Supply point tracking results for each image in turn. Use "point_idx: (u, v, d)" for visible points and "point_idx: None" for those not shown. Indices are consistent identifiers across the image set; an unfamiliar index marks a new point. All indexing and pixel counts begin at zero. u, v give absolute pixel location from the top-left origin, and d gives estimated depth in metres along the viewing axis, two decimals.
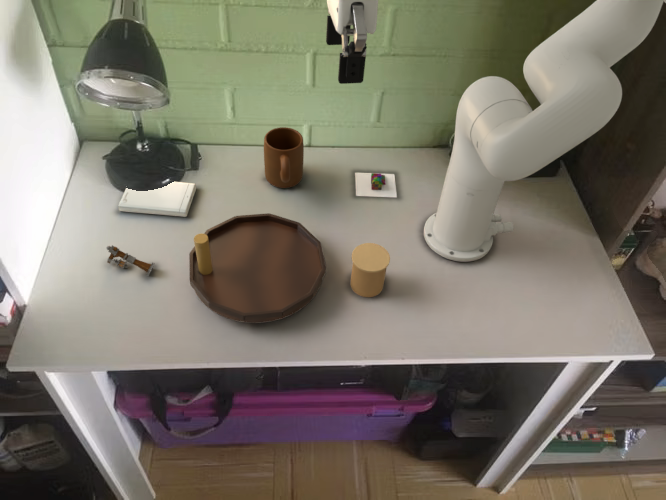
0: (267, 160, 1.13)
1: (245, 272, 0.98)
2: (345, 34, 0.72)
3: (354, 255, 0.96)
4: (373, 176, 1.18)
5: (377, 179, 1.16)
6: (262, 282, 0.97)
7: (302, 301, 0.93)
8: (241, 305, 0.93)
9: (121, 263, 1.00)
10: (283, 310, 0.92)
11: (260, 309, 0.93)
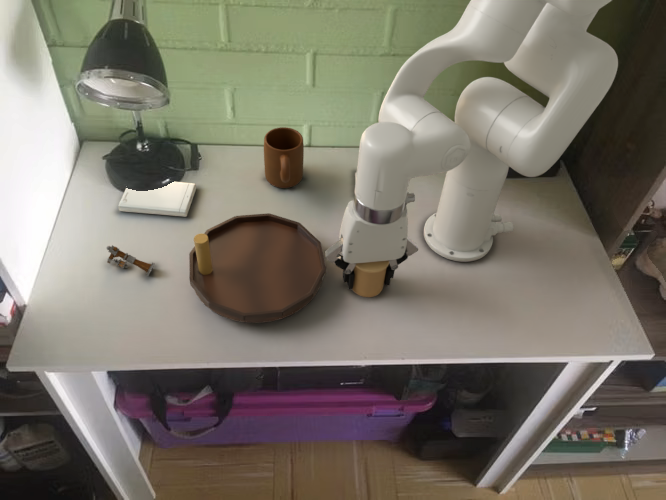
0: (267, 160, 1.13)
1: (245, 272, 0.98)
2: None
3: None
4: None
5: None
6: (262, 282, 0.97)
7: (302, 301, 0.93)
8: (241, 305, 0.93)
9: (121, 263, 1.00)
10: (283, 310, 0.92)
11: (260, 309, 0.93)
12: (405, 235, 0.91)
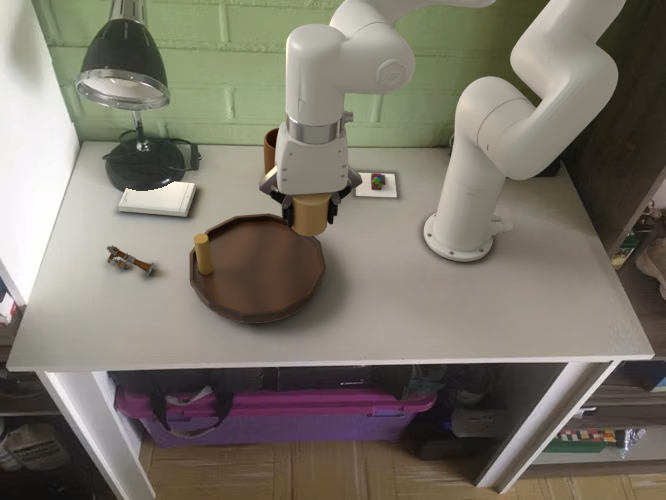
0: (267, 160, 1.13)
1: (245, 272, 0.98)
2: (337, 190, 0.87)
3: None
4: (373, 176, 1.18)
5: (377, 179, 1.16)
6: (262, 282, 0.97)
7: (302, 301, 0.93)
8: (241, 305, 0.93)
9: (121, 263, 1.00)
10: (283, 310, 0.92)
11: (260, 309, 0.93)
12: (345, 161, 0.82)
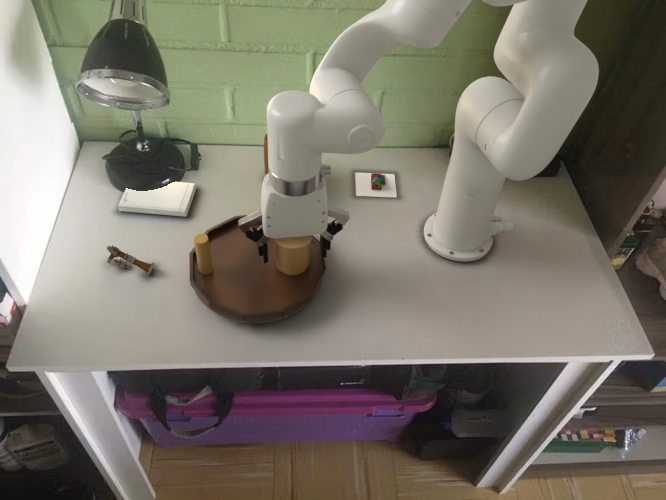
0: (267, 160, 1.13)
1: (245, 272, 0.98)
2: None
3: None
4: (373, 176, 1.18)
5: (377, 179, 1.16)
6: (262, 282, 0.97)
7: (302, 301, 0.93)
8: (241, 305, 0.93)
9: (121, 263, 1.00)
10: (283, 310, 0.92)
11: (260, 309, 0.93)
12: (324, 209, 0.89)
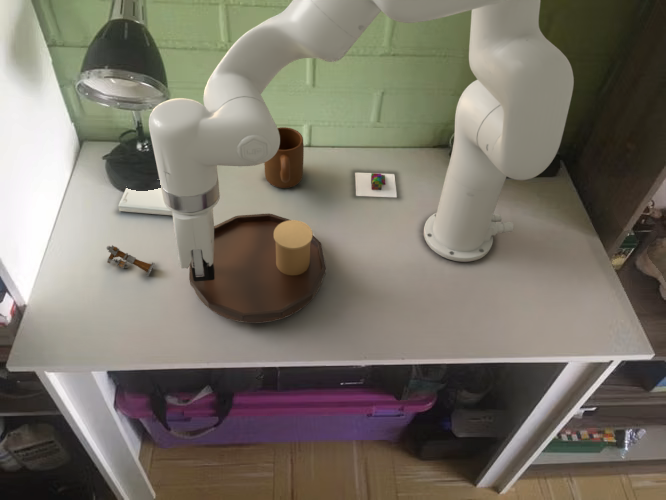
0: None
1: (245, 272, 0.98)
2: None
3: (276, 232, 0.95)
4: (373, 176, 1.18)
5: (377, 179, 1.16)
6: (262, 282, 0.97)
7: (301, 301, 0.93)
8: (240, 305, 0.93)
9: (121, 263, 1.00)
10: (282, 310, 0.92)
11: (259, 309, 0.93)
12: None
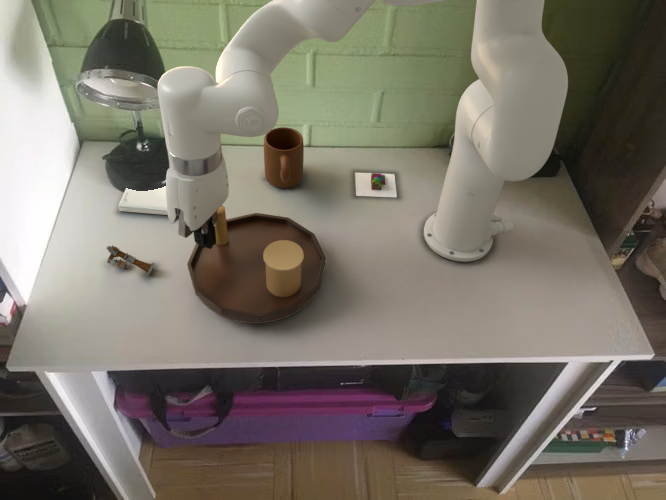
0: (267, 160, 1.13)
1: (243, 263, 0.99)
2: None
3: (273, 244, 0.93)
4: (373, 176, 1.18)
5: (377, 179, 1.16)
6: (243, 279, 0.97)
7: (245, 315, 0.91)
8: (208, 283, 0.96)
9: (121, 263, 1.00)
10: (223, 309, 0.91)
11: (215, 296, 0.94)
12: (226, 171, 0.91)
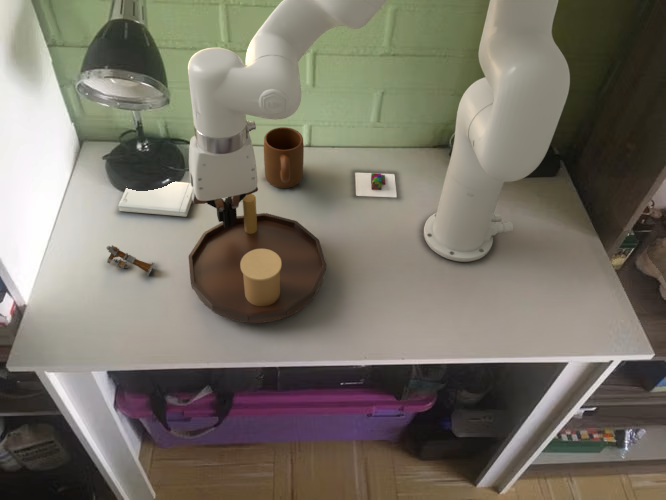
0: (267, 160, 1.13)
1: None
2: None
3: (262, 250, 0.92)
4: (373, 176, 1.18)
5: (377, 179, 1.16)
6: (235, 270, 0.98)
7: (204, 299, 0.93)
8: (207, 257, 1.00)
9: (121, 263, 1.00)
10: (192, 283, 0.94)
11: (201, 271, 0.98)
12: (253, 165, 0.92)
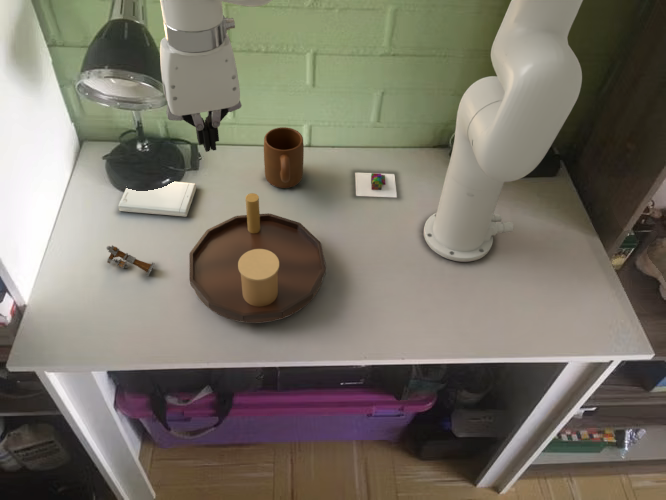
0: (267, 160, 1.13)
1: None
2: None
3: (261, 250, 0.92)
4: (373, 176, 1.18)
5: (377, 179, 1.16)
6: (235, 269, 0.98)
7: (202, 296, 0.93)
8: (208, 255, 1.00)
9: (121, 263, 1.00)
10: (191, 280, 0.95)
11: (201, 268, 0.98)
12: (234, 72, 0.81)
